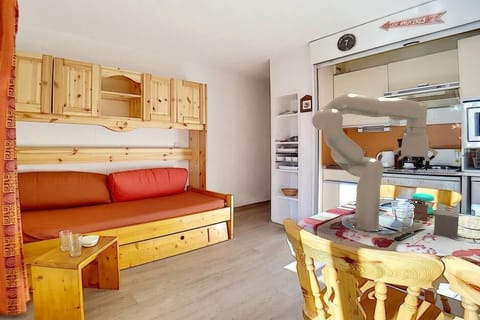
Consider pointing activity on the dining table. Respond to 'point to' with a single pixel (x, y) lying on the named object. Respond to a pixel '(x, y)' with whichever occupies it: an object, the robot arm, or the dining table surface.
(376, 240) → the dining table surface
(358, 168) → the robot arm
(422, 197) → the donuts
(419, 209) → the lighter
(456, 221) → the taupe cardboard-like cube
